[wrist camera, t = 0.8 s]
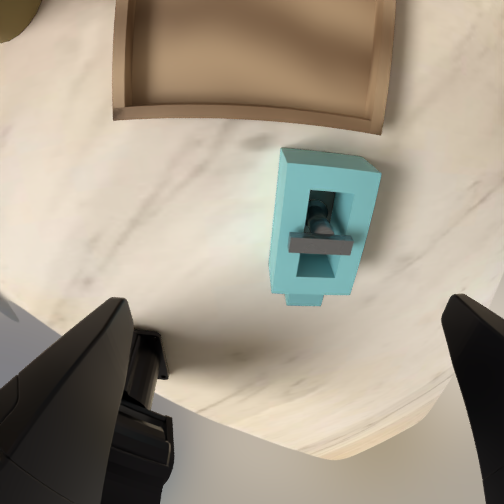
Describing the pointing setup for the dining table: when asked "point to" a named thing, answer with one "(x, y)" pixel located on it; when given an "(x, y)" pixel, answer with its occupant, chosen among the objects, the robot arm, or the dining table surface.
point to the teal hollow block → (342, 222)
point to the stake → (319, 234)
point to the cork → (16, 17)
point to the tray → (254, 60)
